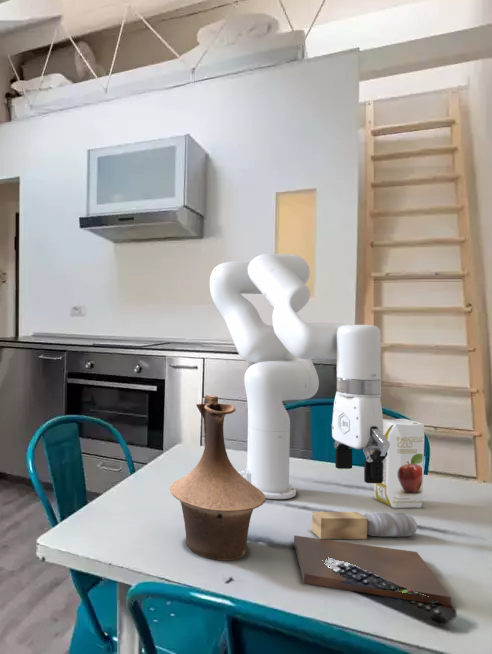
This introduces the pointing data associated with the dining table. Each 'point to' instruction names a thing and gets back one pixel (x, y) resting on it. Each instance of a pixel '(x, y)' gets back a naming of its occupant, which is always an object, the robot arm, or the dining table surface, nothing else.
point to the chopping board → (369, 568)
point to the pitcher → (216, 494)
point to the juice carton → (402, 464)
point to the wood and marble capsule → (361, 524)
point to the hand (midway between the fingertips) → (357, 475)
